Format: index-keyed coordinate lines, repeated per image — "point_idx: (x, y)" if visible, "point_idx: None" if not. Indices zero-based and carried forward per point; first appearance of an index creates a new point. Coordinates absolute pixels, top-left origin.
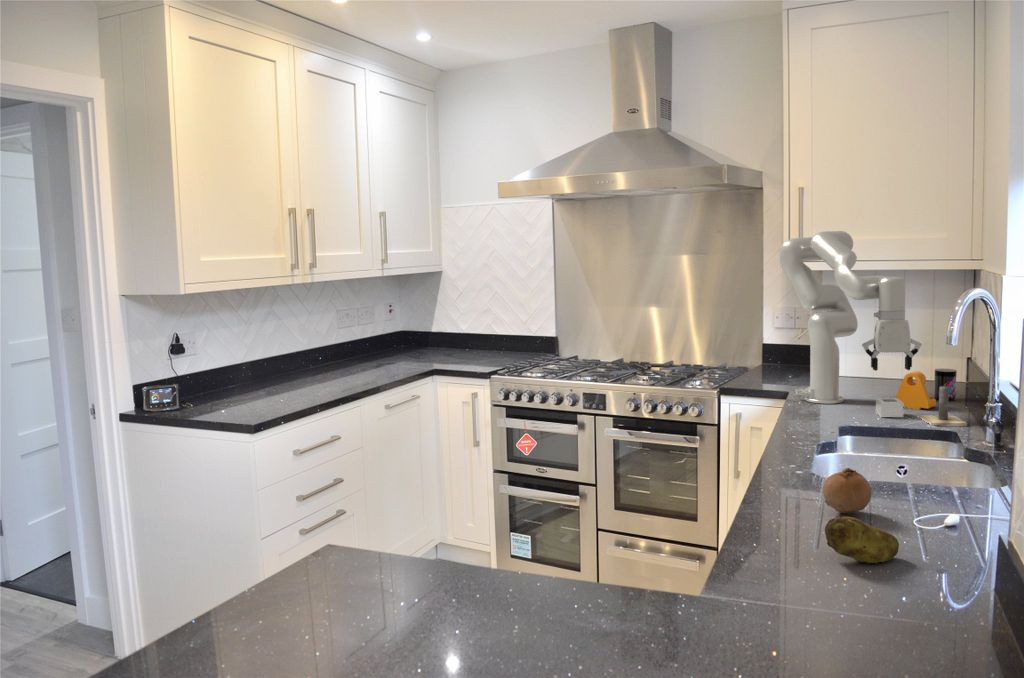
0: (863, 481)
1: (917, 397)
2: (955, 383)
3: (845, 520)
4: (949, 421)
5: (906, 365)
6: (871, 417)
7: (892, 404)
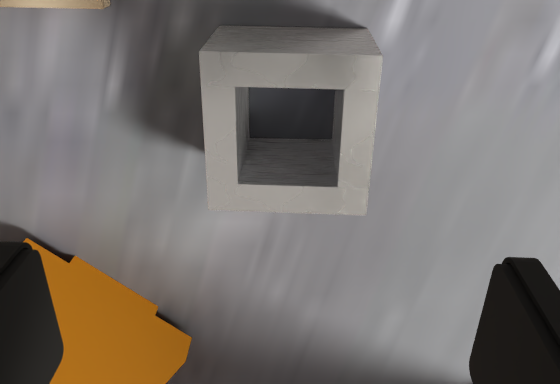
0: None
1: (57, 311)
2: None
3: None
4: None
5: (23, 336)
6: (426, 50)
7: (290, 49)
